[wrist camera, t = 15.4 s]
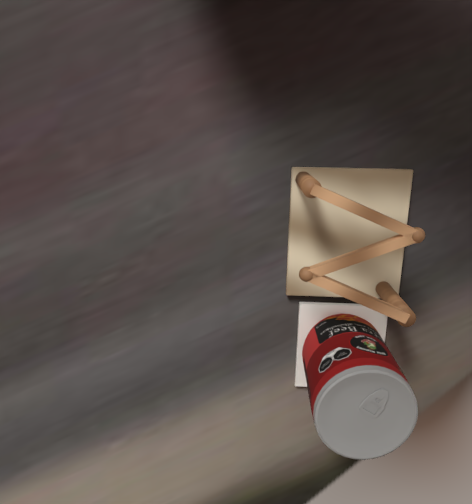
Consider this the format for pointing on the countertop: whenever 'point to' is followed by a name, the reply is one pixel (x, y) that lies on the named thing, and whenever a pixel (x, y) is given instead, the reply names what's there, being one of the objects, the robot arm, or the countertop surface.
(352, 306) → the coaster
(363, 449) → the canned food
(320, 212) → the wooden zigzag stand
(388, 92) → the countertop surface
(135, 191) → the countertop surface
